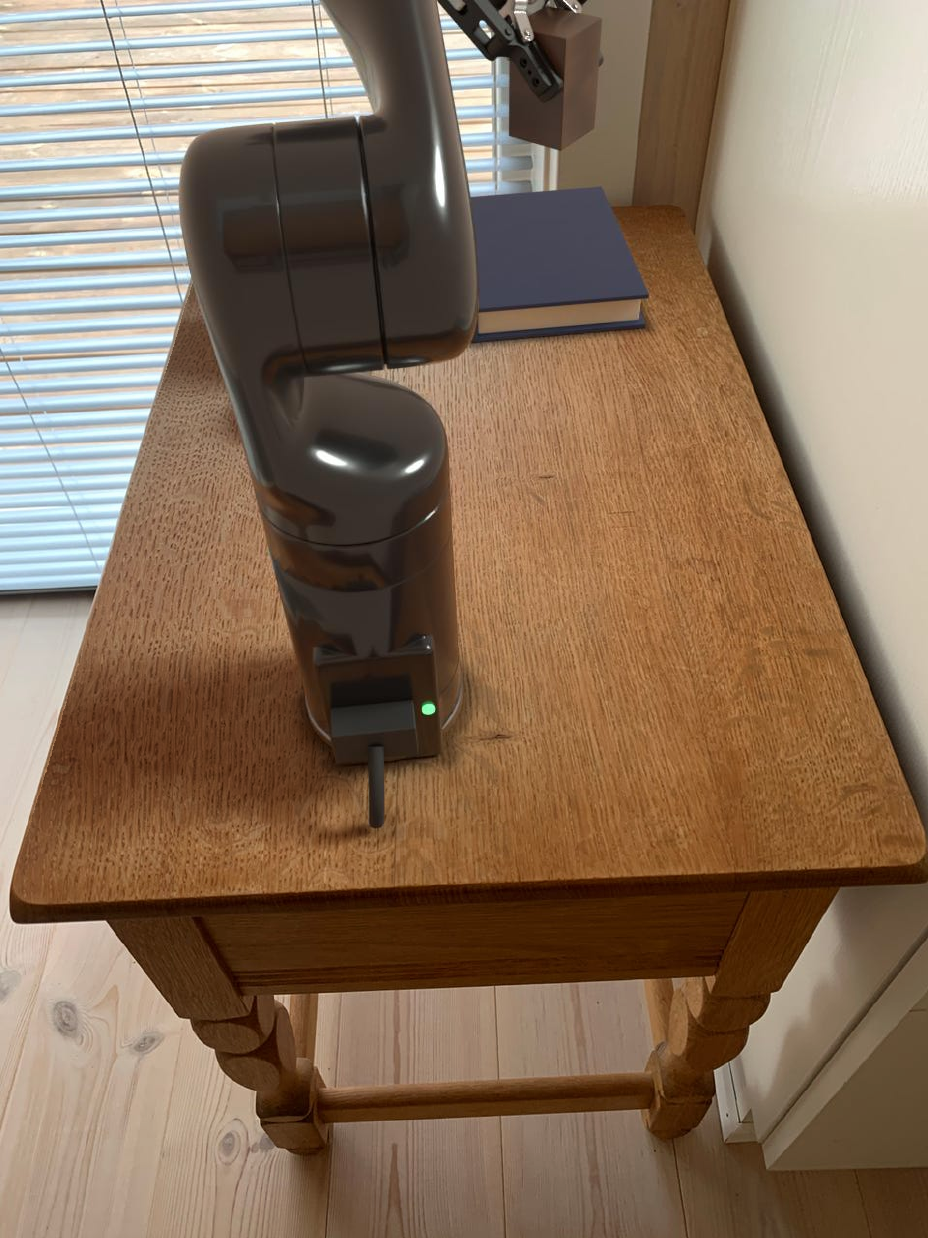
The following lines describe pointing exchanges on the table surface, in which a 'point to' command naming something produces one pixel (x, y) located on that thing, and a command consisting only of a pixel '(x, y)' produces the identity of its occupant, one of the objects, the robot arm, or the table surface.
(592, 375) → the table surface
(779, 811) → the table surface
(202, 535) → the table surface
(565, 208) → the book
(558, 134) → the walnut block
